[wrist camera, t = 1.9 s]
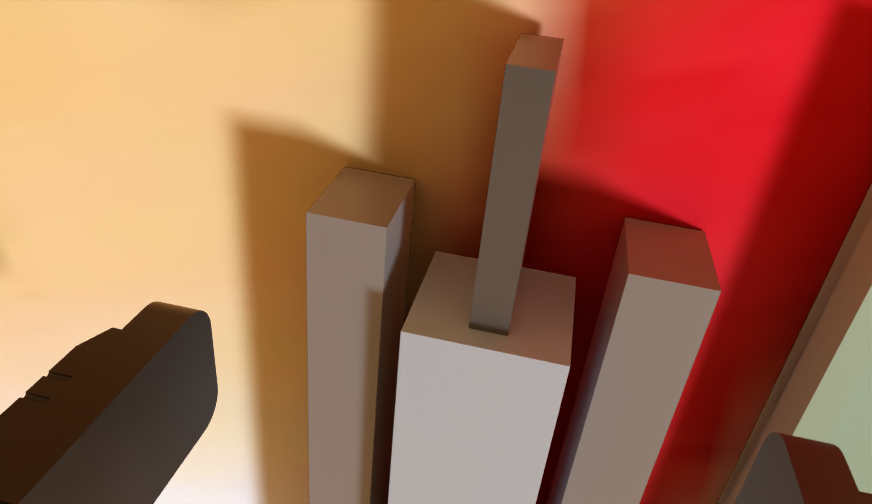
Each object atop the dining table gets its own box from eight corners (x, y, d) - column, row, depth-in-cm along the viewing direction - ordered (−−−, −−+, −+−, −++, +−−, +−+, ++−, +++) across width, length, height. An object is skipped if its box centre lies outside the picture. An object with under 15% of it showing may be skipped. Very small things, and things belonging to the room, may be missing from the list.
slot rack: (344, 166, 23) (305, 212, 20) (704, 231, 21) (721, 291, 18) (336, 546, 34) (310, 611, 31) (572, 607, 32) (569, 682, 29)
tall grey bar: (460, 18, 20) (420, 60, 15) (631, 42, 19) (639, 93, 15) (410, 502, 31) (380, 603, 27) (516, 528, 30) (502, 635, 26)
